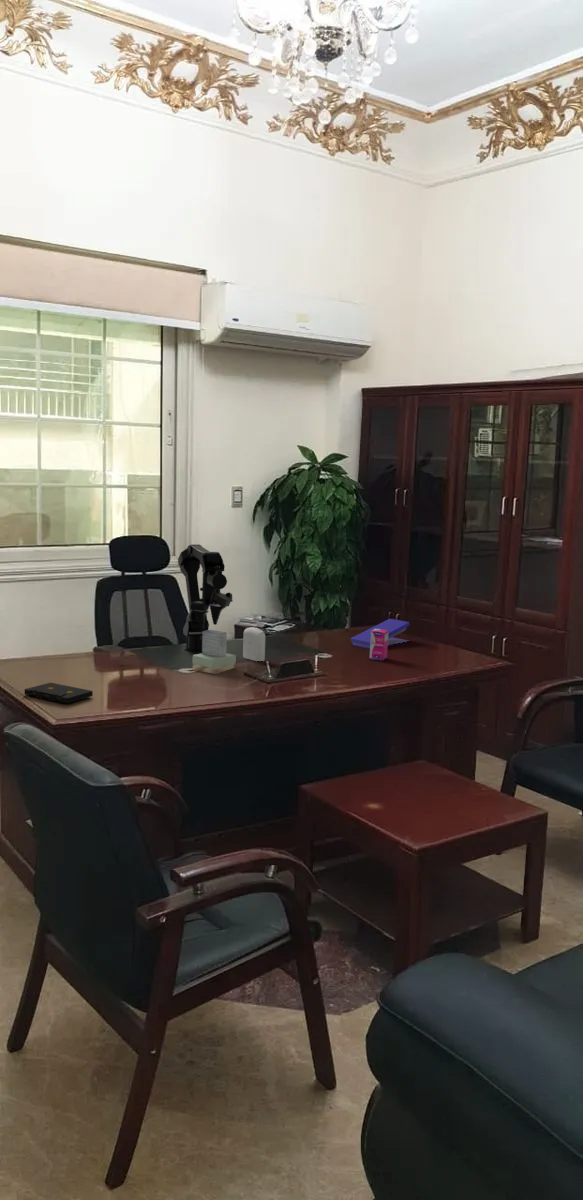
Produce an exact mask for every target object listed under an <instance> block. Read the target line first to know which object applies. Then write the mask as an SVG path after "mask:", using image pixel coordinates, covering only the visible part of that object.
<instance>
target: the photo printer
mask: <svg viewBox="0 0 583 1200" xmlns="http://www.w3.org/2000/svg"><path fill="white" fill-rule="evenodd" d="M242 641H243V642H242V643H243V644H242V645H243V646H242V647H243V648H242V657H243V658H244V659H247V660H250V661H253V662H257V661H263V662H264V661H265V659H266V633H265V632H264V631H263V630H262V629H260V628H257V627H253V626H252V627H246V628H245V629H244V630H243V639H242Z"/></svg>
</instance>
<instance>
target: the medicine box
mask: <svg viewBox="0 0 583 1200" xmlns="http://www.w3.org/2000/svg"><path fill="white" fill-rule="evenodd" d="M227 637H228V635H227V632H226V631H221V630H212V629H208V630H206V631H203V637H202V651H201V654H203V655H210V656H216V657H222V656H226V653H227V640H228V639H227Z"/></svg>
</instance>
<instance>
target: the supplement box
mask: <svg viewBox="0 0 583 1200" xmlns="http://www.w3.org/2000/svg"><path fill="white" fill-rule="evenodd" d="M388 634H389V630H382V629H374V630H372V631H371V642H370V649H369V660H376V661H381V662H383V661H385V660H387V659H388V647H389V646H388Z"/></svg>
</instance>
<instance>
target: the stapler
mask: <svg viewBox="0 0 583 1200" xmlns="http://www.w3.org/2000/svg"><path fill="white" fill-rule="evenodd" d="M408 627H410V622H409V621H405V620H400V619H394V618H388V619H387V620H384V621H383V622H380V623H378V624H377V625H374V626H372V627H370V628H369V629H366V630H364V631H362V632H361V633H359V634H356V635H355V636H352V637H350V639H349V640H350V642H351V643H352V644H351V645H352V646H353V647H359V648H363V649H367V650H370V642H371V631H372V630H374V629H382V630H389V634H388V647H389V646H390V645H391V646H395V645H394V644H396V645H399V644H398V643H400V644H404V643H403V642H405V643H408V642H407V641H409V640H407V639H402V638H397V637H395V636H397V635H399V634H401V633H403V632H405V631H407V628H408ZM391 646H390V647H391Z"/></svg>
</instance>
